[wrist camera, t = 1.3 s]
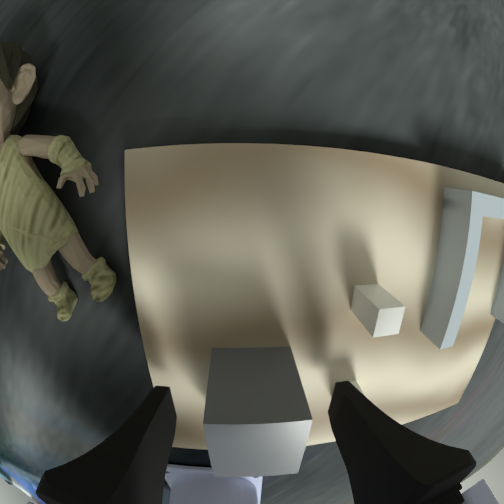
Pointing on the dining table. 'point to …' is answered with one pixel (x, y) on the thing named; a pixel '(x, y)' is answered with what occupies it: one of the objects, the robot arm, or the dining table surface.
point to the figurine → (41, 192)
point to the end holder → (459, 263)
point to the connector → (255, 412)
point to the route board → (299, 271)
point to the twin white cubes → (376, 312)
